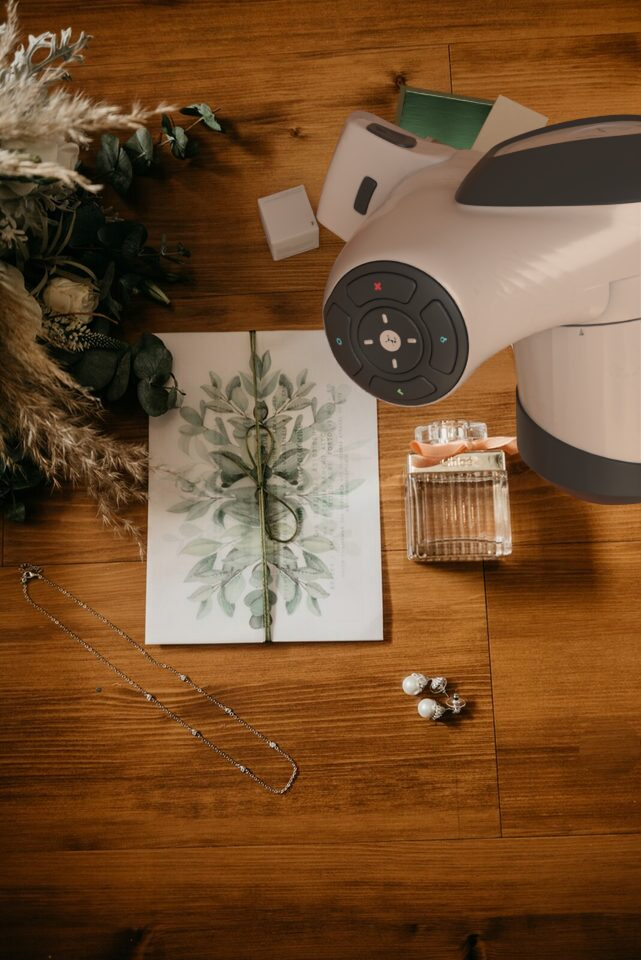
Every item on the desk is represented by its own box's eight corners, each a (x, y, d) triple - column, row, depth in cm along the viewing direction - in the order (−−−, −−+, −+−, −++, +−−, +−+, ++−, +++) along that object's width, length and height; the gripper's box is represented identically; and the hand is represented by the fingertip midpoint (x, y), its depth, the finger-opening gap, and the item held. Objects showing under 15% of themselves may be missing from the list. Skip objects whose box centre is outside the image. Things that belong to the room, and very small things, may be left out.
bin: (492, 158, 85) (516, 103, 75) (476, 256, 84) (499, 215, 73) (390, 141, 85) (400, 84, 75) (374, 239, 84) (381, 195, 74)
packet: (516, 180, 61) (550, 117, 52) (484, 242, 60) (513, 189, 51) (472, 159, 61) (499, 92, 52) (440, 220, 60) (462, 164, 52)
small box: (305, 203, 85) (304, 182, 80) (320, 248, 84) (320, 229, 79) (259, 218, 84) (255, 198, 79) (274, 263, 84) (271, 245, 79)
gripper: (643, 262, 41) (639, 199, 52) (324, 107, 42) (385, 76, 52) (581, 351, 45) (589, 275, 56) (292, 208, 46) (354, 160, 56)
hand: (488, 178), depth 54 cm, fingers open, 8 cm apart
